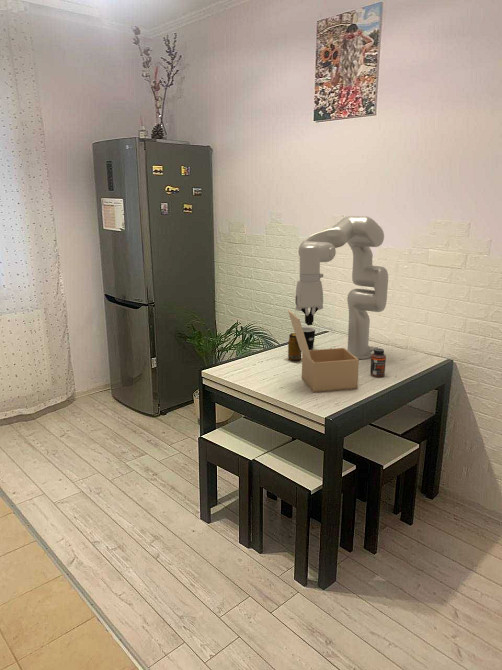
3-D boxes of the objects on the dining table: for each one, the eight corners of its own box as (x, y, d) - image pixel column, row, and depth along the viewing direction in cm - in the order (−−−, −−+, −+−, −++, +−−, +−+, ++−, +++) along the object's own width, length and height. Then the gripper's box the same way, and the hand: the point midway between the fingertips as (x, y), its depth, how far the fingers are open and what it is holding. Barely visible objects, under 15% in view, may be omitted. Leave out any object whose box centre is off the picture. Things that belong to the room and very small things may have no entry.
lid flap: (289, 309, 203) (287, 310, 203) (299, 318, 189) (298, 319, 189) (301, 349, 209) (300, 349, 209) (312, 360, 194) (310, 361, 194)
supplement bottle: (376, 378, 211) (378, 352, 208) (367, 374, 217) (368, 348, 214) (387, 376, 214) (389, 350, 211) (378, 371, 219) (379, 346, 216)
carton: (343, 375, 216) (344, 347, 213) (357, 388, 201) (358, 359, 197) (301, 378, 213) (302, 350, 209) (313, 392, 197) (313, 362, 194)
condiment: (295, 356, 241) (295, 331, 238) (307, 360, 235) (308, 335, 232) (283, 359, 237) (283, 334, 234) (296, 363, 231) (296, 338, 227)
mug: (309, 353, 246) (309, 332, 243) (292, 350, 251) (293, 330, 248) (320, 346, 255) (321, 327, 253) (304, 344, 260) (304, 324, 257)
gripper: (325, 274, 198) (324, 320, 204) (287, 277, 196) (288, 323, 201) (331, 278, 191) (330, 325, 196) (293, 280, 189) (293, 328, 194)
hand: (309, 324), depth 199 cm, fingers closed
